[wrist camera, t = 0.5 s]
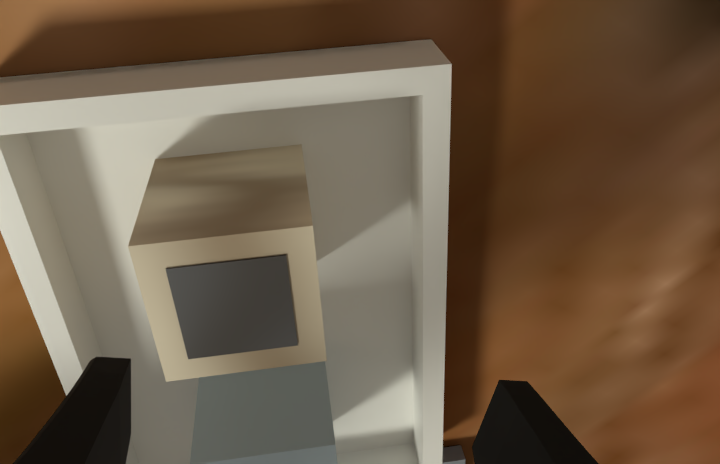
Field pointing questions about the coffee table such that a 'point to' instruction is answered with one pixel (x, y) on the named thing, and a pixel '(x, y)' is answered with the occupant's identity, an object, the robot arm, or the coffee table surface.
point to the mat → (453, 455)
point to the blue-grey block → (265, 417)
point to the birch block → (229, 263)
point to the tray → (328, 209)
